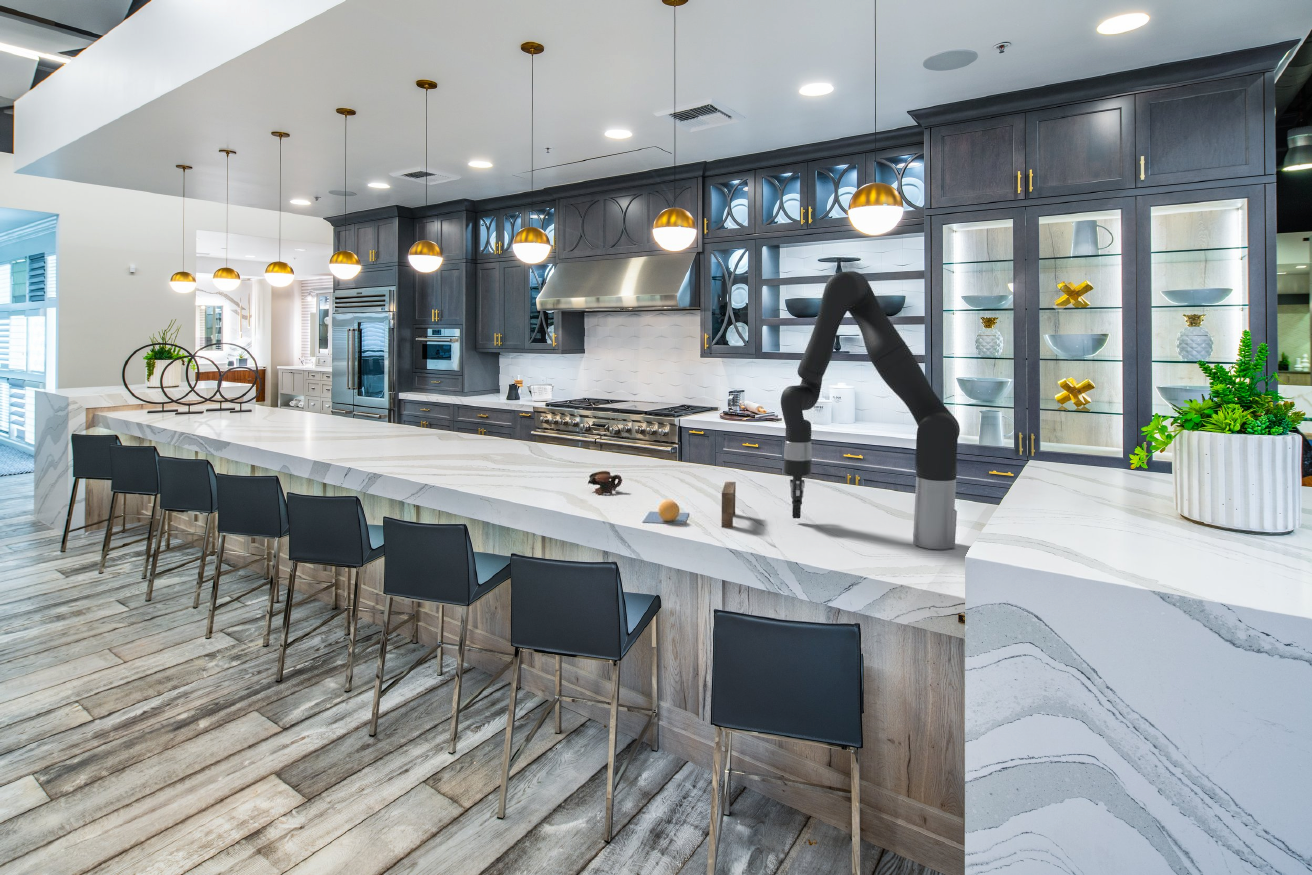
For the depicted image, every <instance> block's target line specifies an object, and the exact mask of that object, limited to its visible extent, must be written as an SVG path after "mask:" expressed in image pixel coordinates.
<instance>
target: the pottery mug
mask: <svg viewBox="0 0 1312 875" xmlns="http://www.w3.org/2000/svg"><path fill="white" fill-rule="evenodd" d="M616 481H617V482H616ZM622 483H623V479H622V476H621V475H620V474H613V475H611V472H610V471H607V470H603V471H602V470H601V471H600V470H599V471H595V472H592V473H591V474H590V475H589V479H588V481H587V485H589V484H590V485H593V486H599V487H597V488H594V491H595V495H596V494H599V495H602V494H610V495H612V494H613V491H616V490H617V489H618V488H619V487H620V486H621V485H622Z"/></svg>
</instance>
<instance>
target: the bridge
mask: <svg viewBox="0 0 1312 875" xmlns="http://www.w3.org/2000/svg"><path fill="white" fill-rule="evenodd" d="M736 483H737V482H736V481H725V483H724V485H723V487H722V488H723V489H722V491H721V528H733V525H734V516H736Z"/></svg>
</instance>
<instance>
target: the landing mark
mask: <svg viewBox="0 0 1312 875" xmlns="http://www.w3.org/2000/svg"><path fill="white" fill-rule="evenodd" d="M689 515H690V512H679V515H678V517H677V518H676V519H675V520H674V521H664V520H663V519H662V518H661V517H660V516H659V512H658V511H651V510H650V511H649V512H648V513H647V515H646V517H645V518H644V519H643V520H642V521H641V522H642V523H644V524H645V523H646V524H647V523H649V524H667V525H668V524H671V525H685V524H686V523H687V519H688V518H689Z"/></svg>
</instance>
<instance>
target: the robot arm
mask: <svg viewBox="0 0 1312 875" xmlns="http://www.w3.org/2000/svg"><path fill="white" fill-rule="evenodd" d="M823 289H824V290H823V294H822V297H821V301H820V307H819V310H818V314H817V316H816V317H817V318H816V321H815V324H814V327H813V330H812V333H811V334H810V336H811V337H810V338H809V341H808V343H807V346H806V348H805V350H804V353H803V355H802V357H801V359H800V362H799V365H798V368H797V375H798V377H799V378H801V381H800V383H799V385H790V386H787V387H786V388H784V389H783V391H782V393H781V397H780V408H781V412H782V417H783V421H784V423H785V424H784V425H785V435H784V436H785V440H784V441H785V442H784V450H783V451H784V452H783V473H784V474H785V475H787V476H792V479H789V487H790V498H791V504H792V510H791V511H792V514H791V515H792V519H799V520H800V518H801V509H802V508H801V507H802V504H803V498H804V492H805V491H804V490H805V488H806V487H805V485H806V483H805V479H803V476H805V477H807V476H809V475H811V474H812V459H813V451H812V450H813V446H812V423H811V421H810V420H807V419H804V413H803V411H808V410H811V409H812V408H814V407H815V406H816V404H817V403H818V400H819V399H820V395H821V394H820V393H821V390H822V383H823V377H824V376H825V374H826V371H827V368H828V367H829V364H830V362H831V359H832V356H833V353H834V349H835V344H836V338H837V334H838V331H839V328H840V325H841V323H842V321H843V319H844V317H845V315H846V314H847V313H849V314H850V316H851V317H852V319H853V320H854V321H855V323H856V325H857V326H858V328H859V330H860V332H861V336H862V339H863V342H864V347H865V350H866V353H867V356H868V358H869V360H870V361H871V364H872V365H873V367H874V368H875V371H876V372H878V374H879V376H880V377H881V379H882V380H883V381H884V383H885V384H886V385H887V386H888V388H890V389H891V390H892V391H893V393H895V395H896V396H897V397H899V399H900V400H901V401H902V402H903V403H904V404H905V406H906V407H907V409H908V410H909V412H910V413H911V415H912V417H913V419H914V421H915V422H916V425H917V429H916V430H917V431H916V439H915V440H916V441H915V442H916V443H915V444H916V446H915V468H916V471H915V472H916V473H915V474H916V475H915V476H916V477H915V492H914V493H915V495H914V496H915V497H914V498H915V499H914V510H913V511H914V513H913V515H914V516H913V533H912V544H913V545H915V546H916V547H919V548H923V549H928V550H949V549H955V548H956V537H957V536H956V534H957V533H956V532H957V518H958V515H957V514H958V511H957V510H956V506H955V505H956V504H955V503H956V490H957V473H958V469H957V468H958V467H957V461H958V460H957V457H958V443H959V442H958V439H959V436H960V432H961V428H960V424H959V421H958V420H957V419H956V417H955V416H954V415H953V414H952V412H950V410H949V409H948V408H947V406H946V405H945V404H944V403H943V402H942V401H941V399H940V398H939V397H938V395H937V393H936V392H935V391H934V389H933V388H932V386H931V384H930V383H929V381H928V378H927V377H926V375H925V373H924V371H923V370H922V368H921V366H920V364H919V362H918V361H917V359H916V358H915V356H914V354H913V352H912V351H911V349H910V348H909V346H908V345H907V344H906V342H905V340H904V338H902V336H901V335H900V333H899V332H898V330H897V329H896V327H895V326H894V324H893V323H892V322H891V320H890V319H889V318H888V316H887V314H886V313H885V312H884V310H883V308H882V306H881V305H880V303H879V301H878V298H877V297H876V295H875V293H874V291H873V289H872V287H871V285H870V283H869V281H868V279H867V278H866V277H865V276H864V275H863V274H862V273H860V272H858V271H853V270H852V271H851V270H849V271H848V270H847V271H838V272H836V273H834V274H832V276H830V277H829V278H828V279H827V282H826V283H825V286H824V288H823Z"/></svg>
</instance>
